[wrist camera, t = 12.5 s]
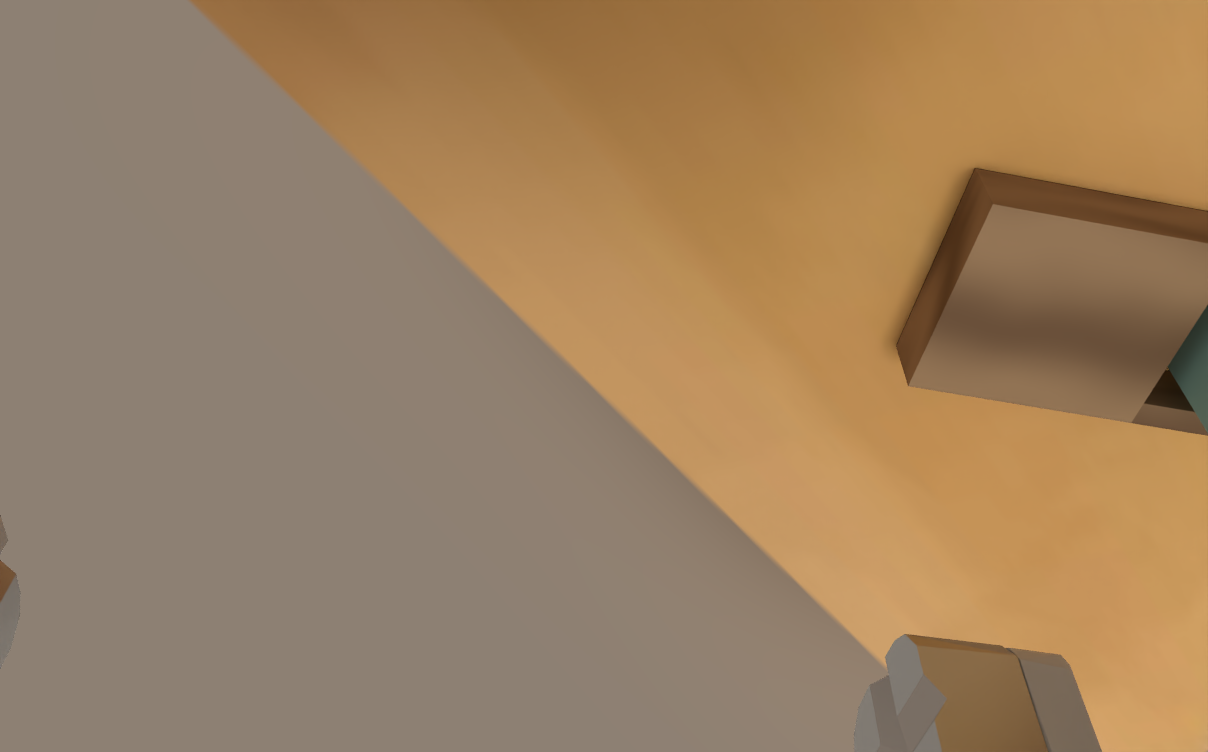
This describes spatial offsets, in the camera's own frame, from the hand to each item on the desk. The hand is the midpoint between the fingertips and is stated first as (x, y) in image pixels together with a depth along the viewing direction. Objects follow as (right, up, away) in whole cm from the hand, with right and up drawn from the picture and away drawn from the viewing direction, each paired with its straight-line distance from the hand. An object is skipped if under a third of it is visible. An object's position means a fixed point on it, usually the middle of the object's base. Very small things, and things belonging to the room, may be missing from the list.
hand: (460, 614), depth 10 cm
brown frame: (+22, +5, +32) cm, 39 cm away
